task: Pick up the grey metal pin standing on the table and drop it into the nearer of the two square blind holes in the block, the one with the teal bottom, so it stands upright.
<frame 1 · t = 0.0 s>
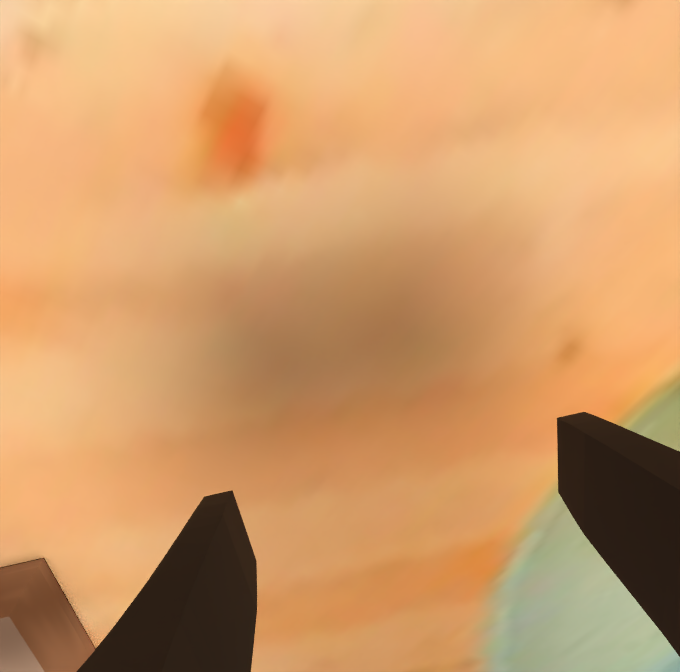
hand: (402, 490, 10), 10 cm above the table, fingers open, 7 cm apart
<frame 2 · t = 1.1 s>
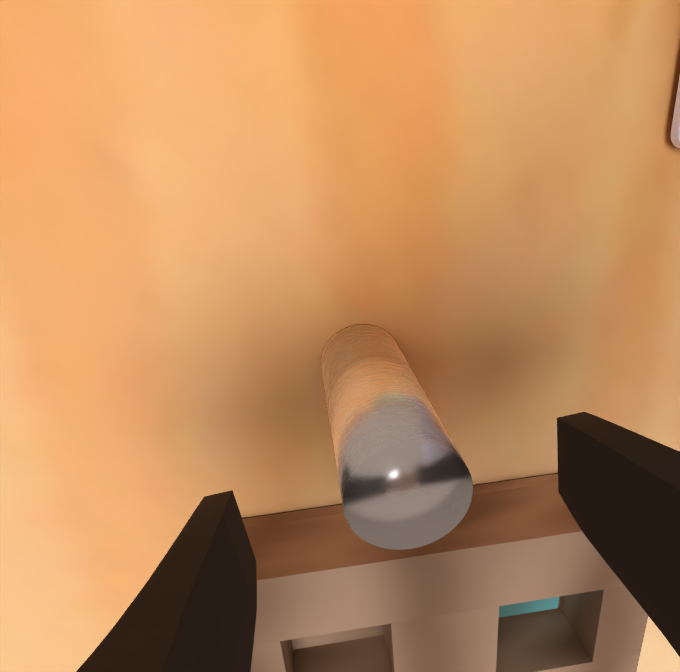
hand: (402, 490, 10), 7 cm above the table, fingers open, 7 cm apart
hole block: (424, 585, 21), on the table
pin: (361, 362, 17), on the table
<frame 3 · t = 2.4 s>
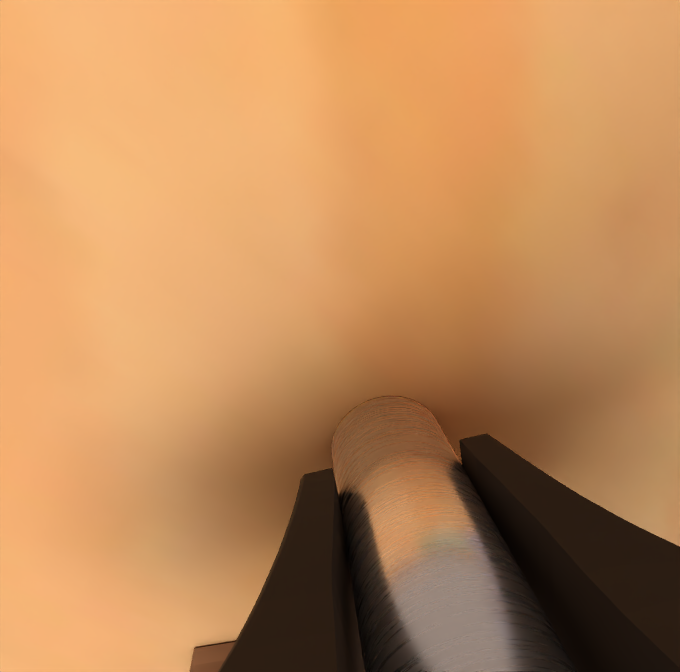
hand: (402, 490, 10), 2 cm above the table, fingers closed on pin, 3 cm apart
pin: (386, 445, 12), on the table, touching gripper
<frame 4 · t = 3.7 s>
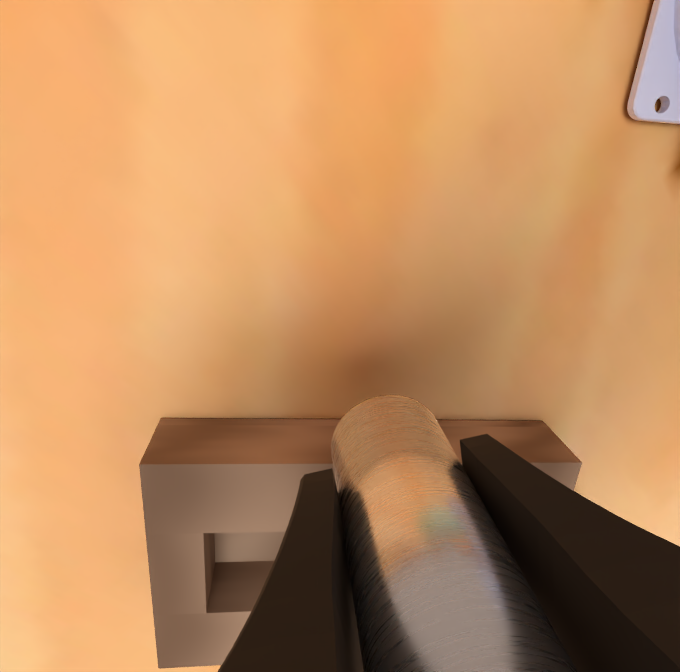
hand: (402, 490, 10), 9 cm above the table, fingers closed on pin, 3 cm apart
hole block: (351, 515, 22), on the table
pin: (386, 444, 12), point 7 cm above the table, touching gripper
when the fingers open (4 cm above the table, at t = 5.5 s): pin drops 1 cm, resting on hole block.
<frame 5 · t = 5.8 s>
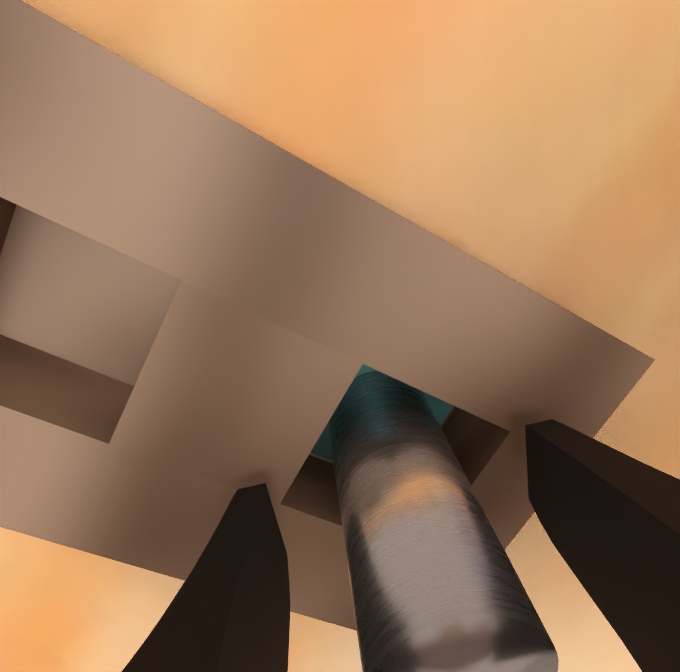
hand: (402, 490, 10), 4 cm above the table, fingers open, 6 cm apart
hole block: (246, 349, 13), on the table
pin: (378, 416, 13), point 1 cm above the table, touching hole block
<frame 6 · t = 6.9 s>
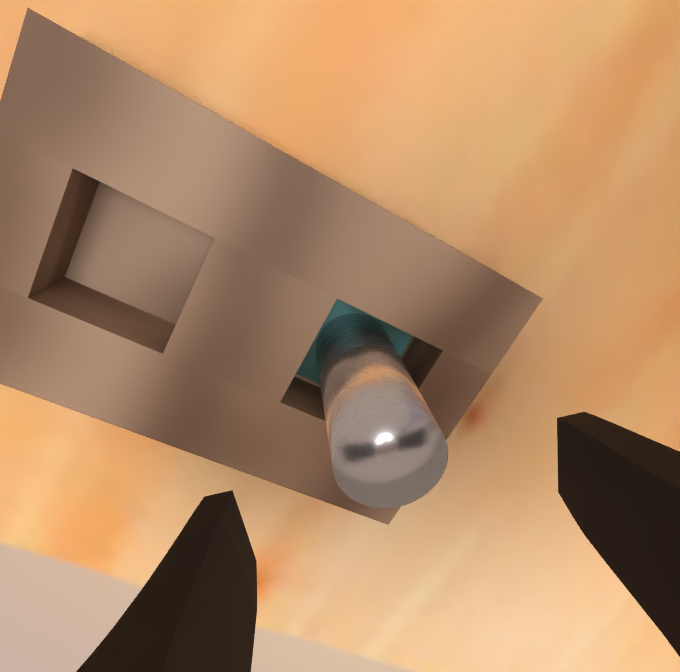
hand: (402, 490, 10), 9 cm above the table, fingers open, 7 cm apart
hole block: (255, 298, 18), on the table
pin: (352, 348, 18), point 1 cm above the table, touching hole block
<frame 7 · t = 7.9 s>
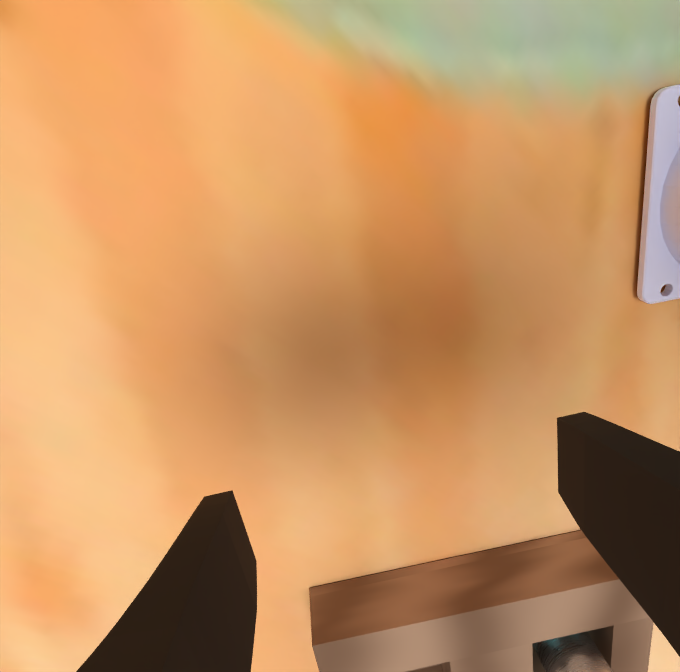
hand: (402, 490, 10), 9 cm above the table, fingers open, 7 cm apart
hole block: (471, 623, 26), on the table
pin: (548, 619, 25), point 1 cm above the table, touching hole block
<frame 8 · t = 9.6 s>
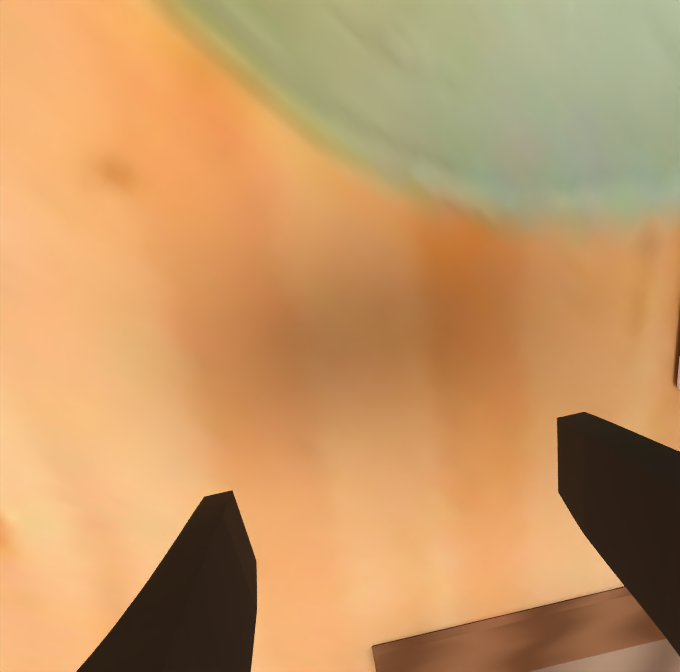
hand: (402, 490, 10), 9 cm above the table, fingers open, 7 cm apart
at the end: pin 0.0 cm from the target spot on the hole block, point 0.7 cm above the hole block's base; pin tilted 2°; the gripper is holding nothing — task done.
